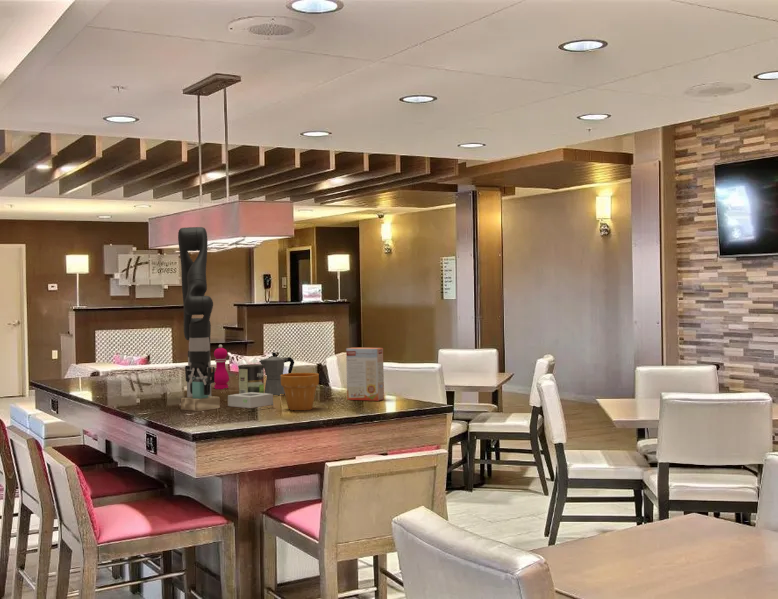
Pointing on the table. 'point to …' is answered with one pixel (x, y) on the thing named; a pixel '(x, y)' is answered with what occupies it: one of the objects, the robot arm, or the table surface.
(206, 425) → the table surface
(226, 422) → the table surface
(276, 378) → the coffeepot
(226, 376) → the pepper mill
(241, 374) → the coffee can
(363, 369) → the cracker box
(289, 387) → the flower pot
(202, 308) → the robot arm
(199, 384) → the plug
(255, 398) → the port
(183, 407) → the holster
